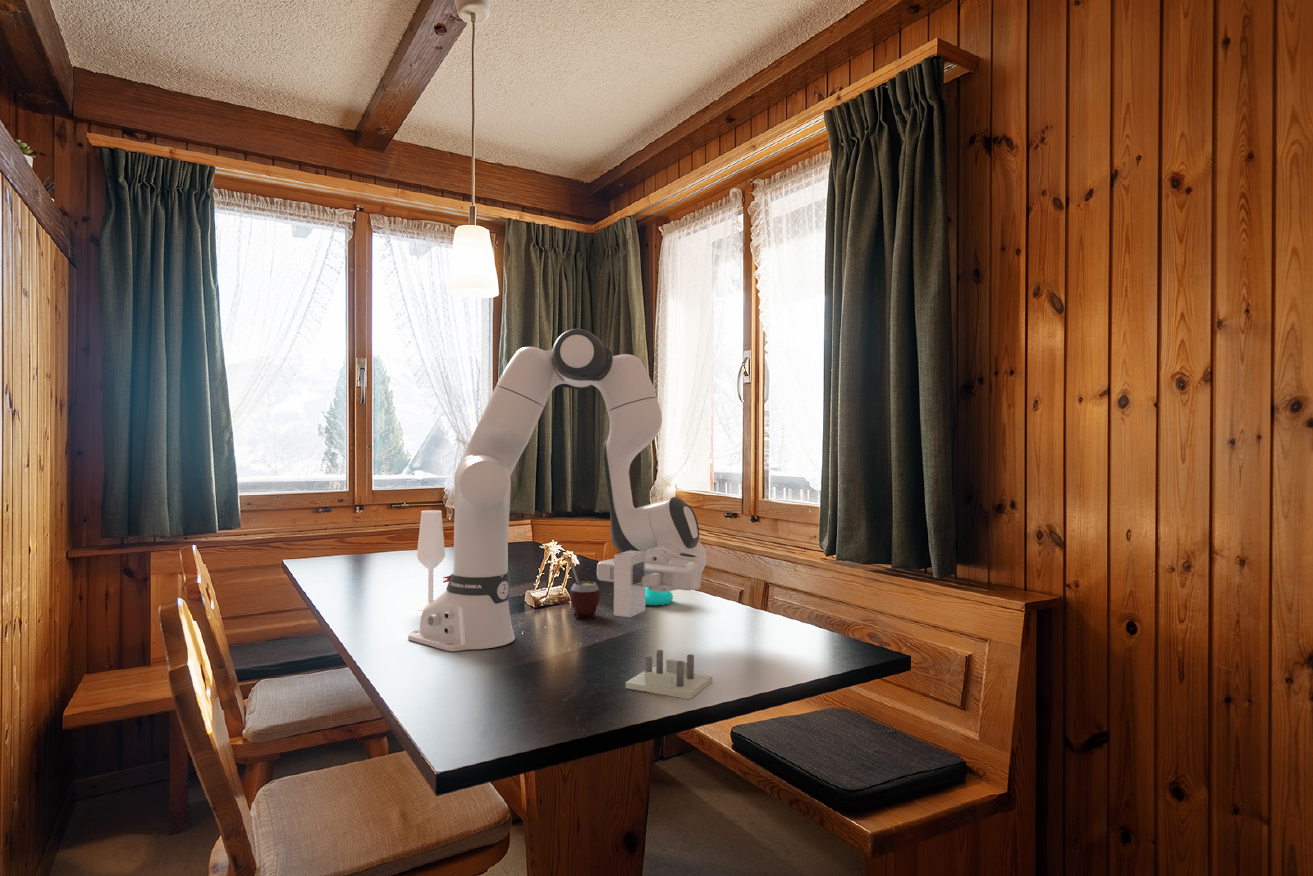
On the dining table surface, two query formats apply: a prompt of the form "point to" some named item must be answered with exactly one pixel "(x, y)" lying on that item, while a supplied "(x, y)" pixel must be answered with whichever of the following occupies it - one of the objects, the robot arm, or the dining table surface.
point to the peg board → (670, 678)
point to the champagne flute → (430, 547)
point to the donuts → (657, 597)
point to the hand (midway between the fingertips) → (629, 580)
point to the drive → (629, 583)
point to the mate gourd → (583, 596)
